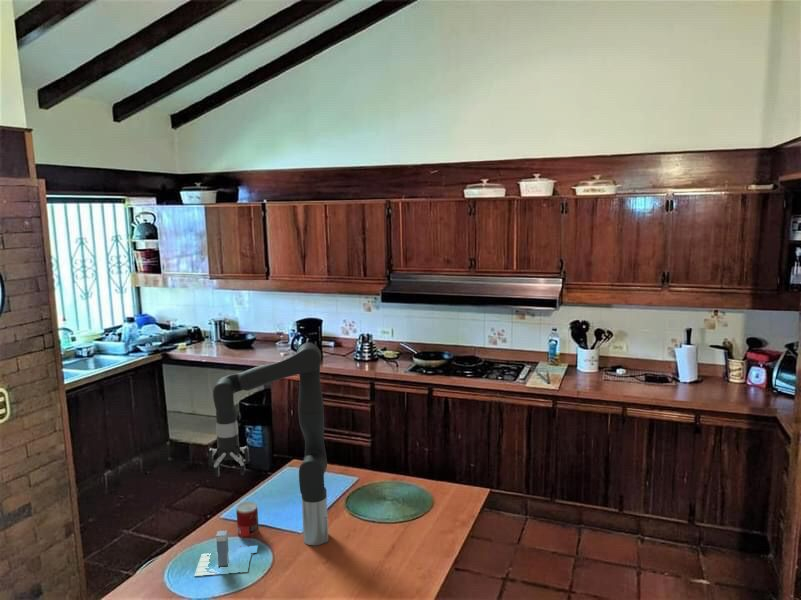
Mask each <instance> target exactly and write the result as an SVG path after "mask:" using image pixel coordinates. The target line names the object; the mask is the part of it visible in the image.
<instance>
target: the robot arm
mask: <svg viewBox="0 0 801 600" xmlns="http://www.w3.org/2000/svg"><path fill="white" fill-rule="evenodd" d="M321 364H322V352H321V349H320V348H319V347H318V346H317V345H316V344H314V343H312V342H304V343H303V344H301V345H300V346H299V347H298V349H297V350H296V353H295V354H293V355H291V356H289V357H288V358H286V359H282V360H280V361H277V362H272V363H267V364H262V365H257V366H255V367H253V368H249V369H246V370H244V371H242V372H238V373H233V374H232V373H231V374H229V375H226V376H223V377H221V378H219V379H218V380H217V381H216V383H215V385H214V387H213V390H212V397H213V398H212V400H213V403H214V407H215V418H216V426H215V430H216V431H215V433H216V447H217V448H213V447H210V448H209V449H208V454H207V455H208V466H209V467H213V468H214V476H216V477H220V475H221V473H220V463H221V462H222V461H234V460H235V461H236V462H237V463H238V464H240V466H239V467H240V468H239V469H240V476H243V475H244V474H245V472H246V464H247V465H249V463H250V461H251V459H250V451H249V445H245V446H242V447H241V446H240V441H239V439H240V437H239V424H238V418H237V417H238V416H237V408H236V405H235V401H234V398H235V397H234V394H235V393H238V392H242V391H246V392H247V391H251V390H254V389H256V388H260V387H262V386H265V385H268V384H270V383H273V382H275V381H280V380H282V379H285V378H289V377H292V376H297V375H299V389H298V403H297V405H298V406H297V407H298V408H297V409H298V410H297V413H298V422H299V423H298V424H299V426H300V430H301V433H302V436H303V439H304V457H303V459H302V462H301V464H300V465H299V468H298V481H299V492H300V494H301V510H302V512H301V513H302V530H303V531H302V536H303V542H304V544H306V545H308V546H309V545H310V546H319V545H320V546H321V545H323V544H325V543H329V523H328V521H329V519H328V498H327V497H328V493H327V488H326V486H325V473H326V471H327V468H328V459H327V453H326V452H327V451H326V447H325V414H324V413H325V411H324V408H325V407H324V398H323V393H322V391H323V390H322V386H321ZM241 452H242V454H244V458H243V456H242V455H241V454H240V453H241ZM215 455H218V457H217V459H216V460H215V461H214V456H215Z"/></svg>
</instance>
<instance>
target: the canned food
mask: <svg viewBox="0 0 801 600" xmlns="http://www.w3.org/2000/svg"><path fill="white" fill-rule="evenodd" d="M235 510H236V527H237V533H238V536H239V537H240V538H243V539H249V538H253V537H255V536H256V535H258V533H259V530H260V529H259V514H258V513H259V511H258V510H259V509H258V504H257V503H256V502H253V501H245V502H242V503H241V502H240V503H239V504H238V505H237V506H236V509H235Z"/></svg>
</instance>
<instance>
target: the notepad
mask: <svg viewBox="0 0 801 600" xmlns="http://www.w3.org/2000/svg"><path fill="white" fill-rule="evenodd" d="M211 553H212V552H210V554H209V552H207V553H201V555H200V558H199V560H198V563H197V567H196V570H195V573H194V576H193V577H194V578H196V577H195V576H201V577H204V576H203V575H213V576H215V575H214V574H215V573H209V572H207V570H206V569H205V568H209V567H208V564H209V563H210V562H209V559H210V555H211ZM207 555H209V556H207ZM209 571H212V572H217V571H215V570H214V569H210V570H209ZM217 573H219V572H217Z"/></svg>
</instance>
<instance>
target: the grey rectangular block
mask: <svg viewBox="0 0 801 600" xmlns="http://www.w3.org/2000/svg"><path fill="white" fill-rule="evenodd" d="M228 535H229V534H228V530H217V532H216V535H215V539H216V553H217V556H218V568H220V567H228V563H229V552H230V551H229V539H228V537H229V536H228Z"/></svg>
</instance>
